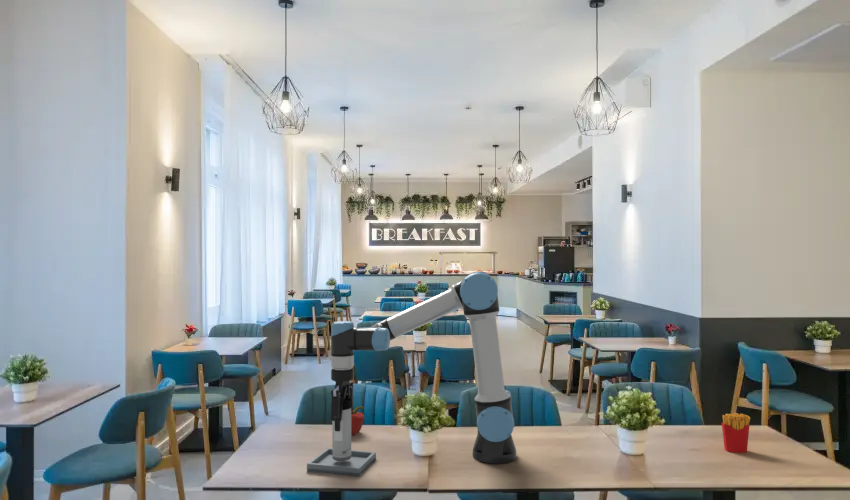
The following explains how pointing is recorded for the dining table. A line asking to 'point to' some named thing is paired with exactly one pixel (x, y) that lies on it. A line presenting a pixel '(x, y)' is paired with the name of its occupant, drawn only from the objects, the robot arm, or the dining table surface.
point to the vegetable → (356, 421)
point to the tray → (342, 463)
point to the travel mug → (343, 448)
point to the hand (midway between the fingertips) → (342, 437)
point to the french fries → (735, 432)
